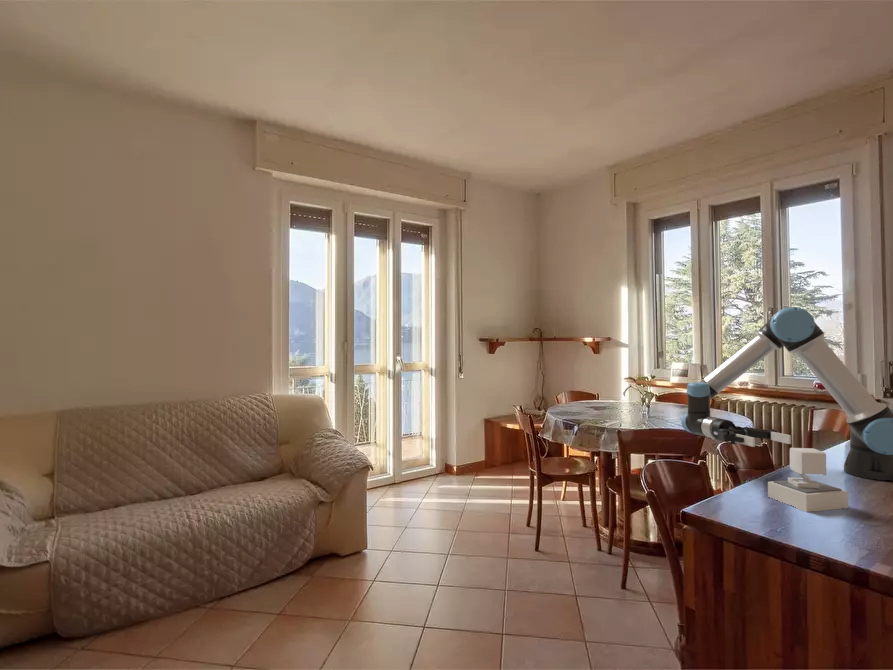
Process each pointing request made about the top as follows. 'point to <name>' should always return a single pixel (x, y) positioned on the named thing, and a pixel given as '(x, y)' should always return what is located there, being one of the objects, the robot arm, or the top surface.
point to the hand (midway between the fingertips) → (772, 441)
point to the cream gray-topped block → (808, 496)
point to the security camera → (806, 466)
